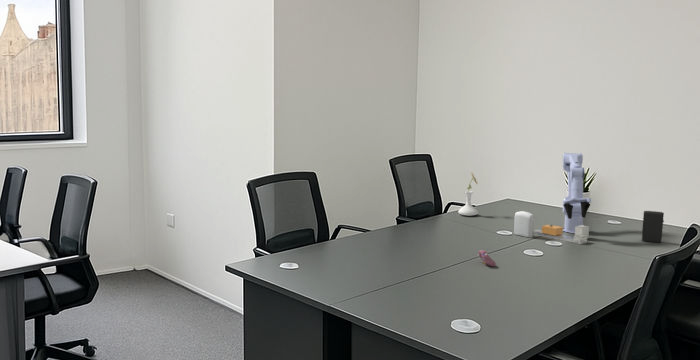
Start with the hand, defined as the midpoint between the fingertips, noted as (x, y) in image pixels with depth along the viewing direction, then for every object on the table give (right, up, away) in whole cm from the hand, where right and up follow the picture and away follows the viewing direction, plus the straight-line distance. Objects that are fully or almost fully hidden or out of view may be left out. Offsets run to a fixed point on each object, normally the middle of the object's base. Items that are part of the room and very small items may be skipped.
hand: (576, 217), depth 341 cm
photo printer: (-25, -10, +7) cm, 27 cm away
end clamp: (-10, -8, +6) cm, 14 cm away
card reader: (+36, -12, -2) cm, 38 cm away
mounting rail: (-8, -10, +3) cm, 14 cm away
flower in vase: (-43, -2, +59) cm, 73 cm away
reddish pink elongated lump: (-54, -17, -47) cm, 74 cm away
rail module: (+4, -10, +3) cm, 12 cm away
